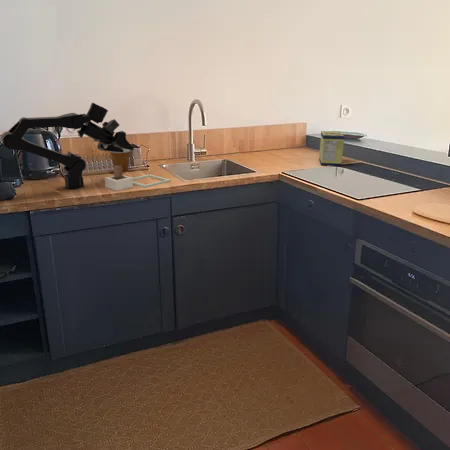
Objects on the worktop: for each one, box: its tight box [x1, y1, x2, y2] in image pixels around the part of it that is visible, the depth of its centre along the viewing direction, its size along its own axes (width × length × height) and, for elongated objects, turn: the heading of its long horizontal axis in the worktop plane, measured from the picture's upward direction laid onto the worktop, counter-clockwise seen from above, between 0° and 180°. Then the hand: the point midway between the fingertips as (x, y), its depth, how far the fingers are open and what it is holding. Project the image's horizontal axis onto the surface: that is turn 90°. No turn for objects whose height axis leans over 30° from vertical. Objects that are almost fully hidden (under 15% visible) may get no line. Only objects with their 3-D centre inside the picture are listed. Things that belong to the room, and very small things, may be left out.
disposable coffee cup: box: [110, 148, 131, 173], centre depth 223 cm, size 10×10×12 cm
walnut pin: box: [112, 165, 124, 180], centre depth 194 cm, size 4×4×9 cm
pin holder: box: [104, 174, 134, 192], centre depth 195 cm, size 8×8×5 cm
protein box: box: [318, 130, 345, 167], centre depth 246 cm, size 10×16×16 cm
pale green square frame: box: [132, 173, 171, 189], centre depth 205 cm, size 14×14×2 cm
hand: (128, 150), depth 202 cm, fingers open, 9 cm apart
